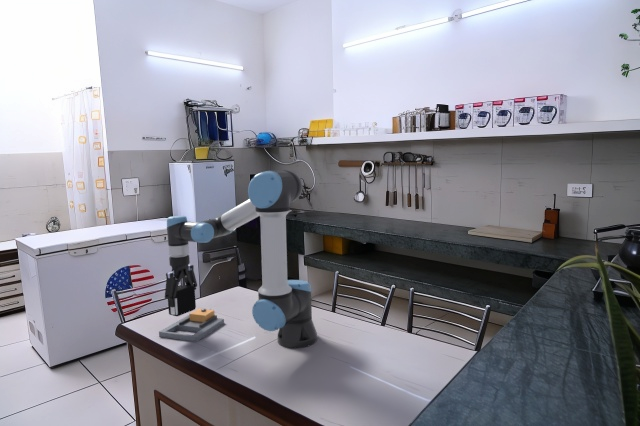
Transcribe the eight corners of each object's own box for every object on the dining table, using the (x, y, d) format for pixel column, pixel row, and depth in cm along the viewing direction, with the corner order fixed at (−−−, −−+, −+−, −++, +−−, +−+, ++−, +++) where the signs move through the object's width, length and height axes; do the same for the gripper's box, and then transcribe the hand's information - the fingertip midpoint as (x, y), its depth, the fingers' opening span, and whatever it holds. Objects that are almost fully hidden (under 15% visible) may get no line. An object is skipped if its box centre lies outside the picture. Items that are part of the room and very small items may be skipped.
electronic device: (196, 309, 167) (194, 285, 166) (175, 317, 159) (174, 292, 157) (189, 307, 169) (187, 283, 168) (168, 315, 161) (167, 290, 160)
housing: (224, 323, 176) (223, 316, 175) (196, 341, 158) (196, 333, 158) (189, 319, 182) (188, 312, 181) (159, 336, 164) (158, 328, 164)
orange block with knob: (214, 316, 178) (214, 308, 177) (205, 322, 172) (205, 314, 171) (199, 315, 180) (198, 307, 180) (189, 320, 174) (189, 312, 174)
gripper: (189, 248, 173) (192, 300, 176) (151, 261, 152) (155, 319, 155) (204, 249, 170) (207, 301, 173) (167, 262, 150) (172, 321, 152)
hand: (183, 309), depth 164 cm, fingers closed on electronic device, 10 cm apart
